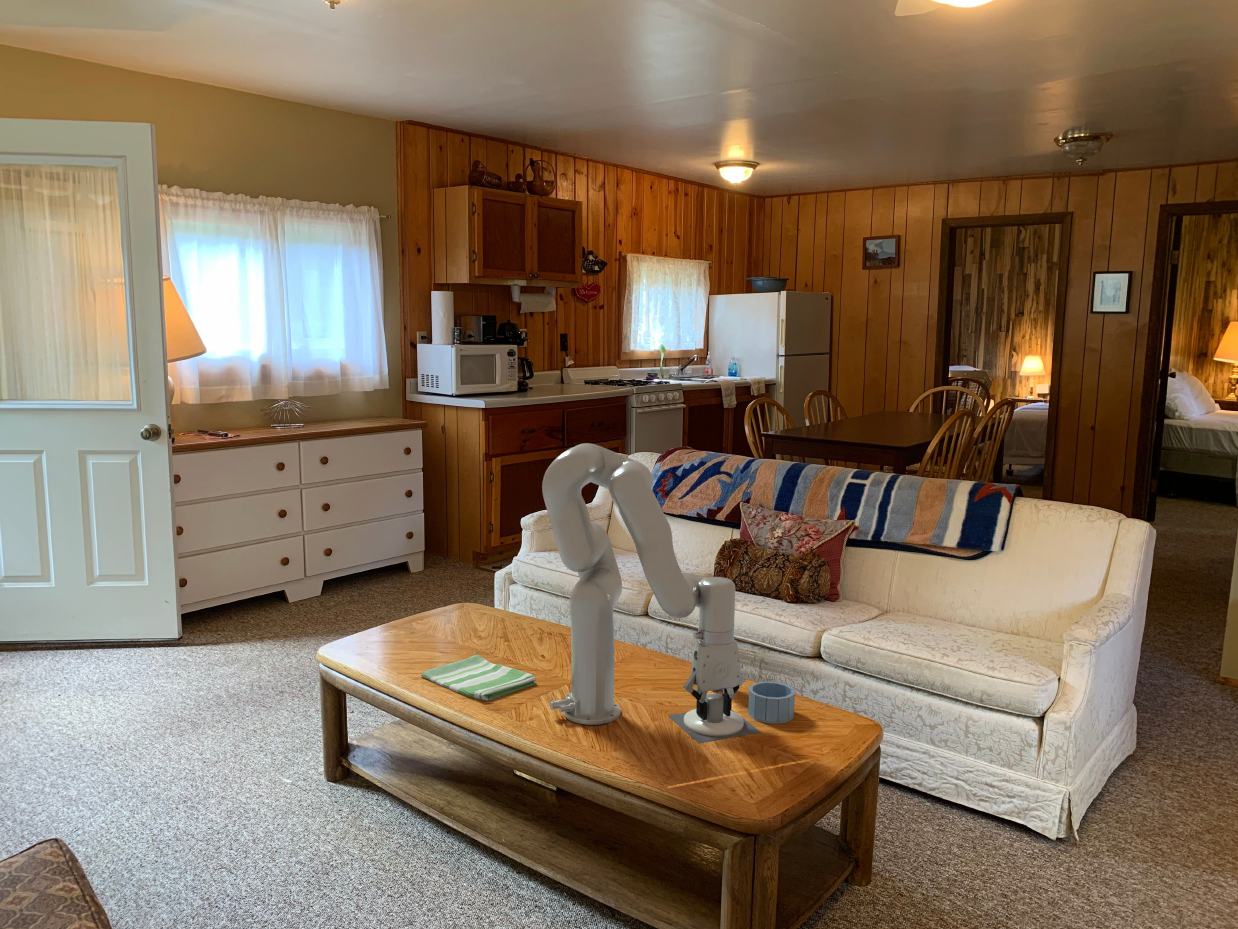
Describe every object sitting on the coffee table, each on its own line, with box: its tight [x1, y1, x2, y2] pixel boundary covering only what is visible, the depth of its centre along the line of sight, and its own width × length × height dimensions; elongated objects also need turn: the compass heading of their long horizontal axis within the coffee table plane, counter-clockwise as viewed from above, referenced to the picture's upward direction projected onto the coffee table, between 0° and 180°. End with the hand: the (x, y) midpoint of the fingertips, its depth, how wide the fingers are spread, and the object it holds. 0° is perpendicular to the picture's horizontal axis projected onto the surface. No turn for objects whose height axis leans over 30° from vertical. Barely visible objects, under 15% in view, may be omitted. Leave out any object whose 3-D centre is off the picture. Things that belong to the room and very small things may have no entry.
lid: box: [684, 693, 745, 736], centre depth 202 cm, size 13×13×6 cm
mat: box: [667, 709, 762, 744], centre depth 202 cm, size 15×15×1 cm
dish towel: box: [420, 654, 538, 702], centre depth 226 cm, size 18×23×3 cm
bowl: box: [747, 680, 796, 725], centre depth 207 cm, size 10×10×6 cm
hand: (713, 715), depth 202 cm, fingers open, 5 cm apart
